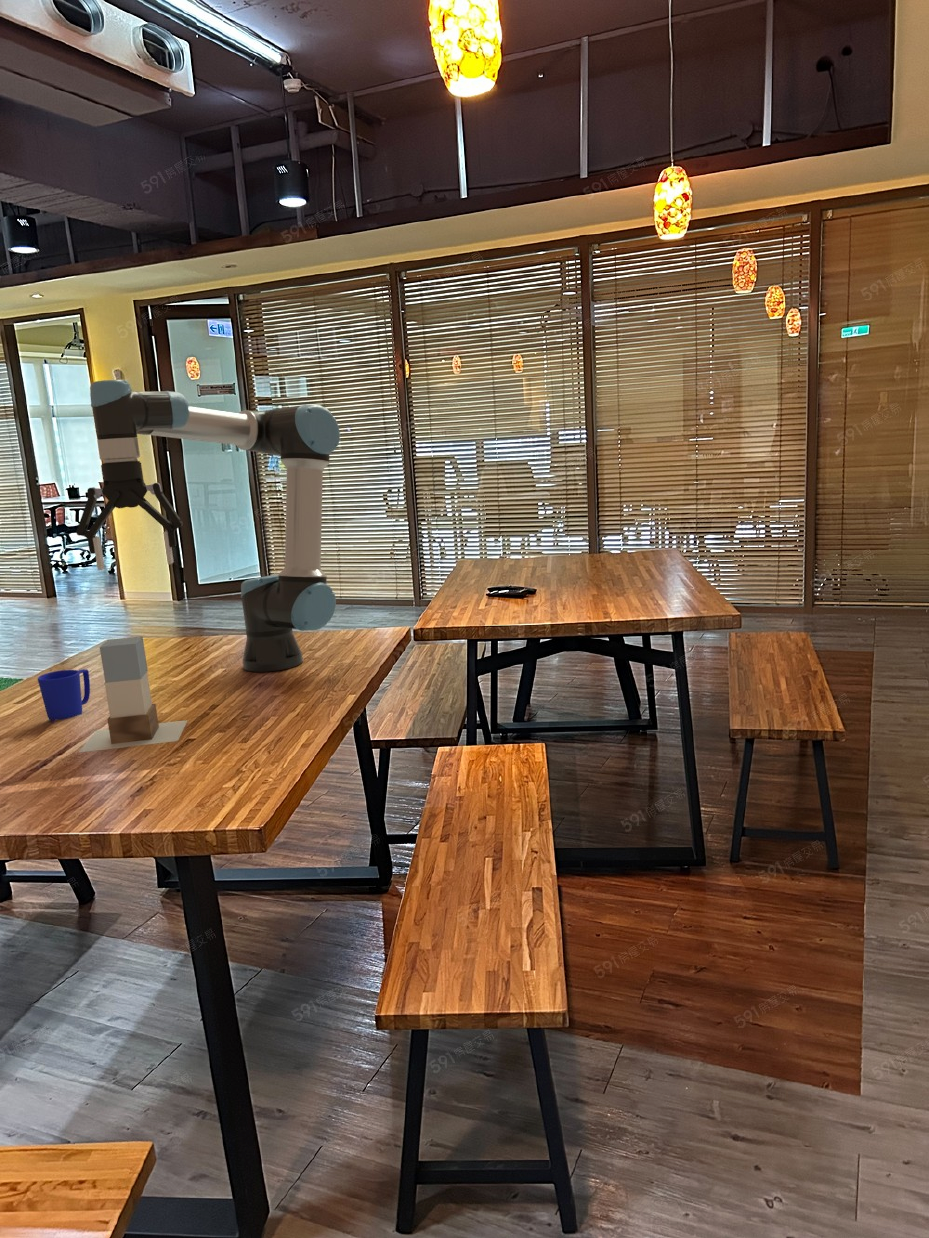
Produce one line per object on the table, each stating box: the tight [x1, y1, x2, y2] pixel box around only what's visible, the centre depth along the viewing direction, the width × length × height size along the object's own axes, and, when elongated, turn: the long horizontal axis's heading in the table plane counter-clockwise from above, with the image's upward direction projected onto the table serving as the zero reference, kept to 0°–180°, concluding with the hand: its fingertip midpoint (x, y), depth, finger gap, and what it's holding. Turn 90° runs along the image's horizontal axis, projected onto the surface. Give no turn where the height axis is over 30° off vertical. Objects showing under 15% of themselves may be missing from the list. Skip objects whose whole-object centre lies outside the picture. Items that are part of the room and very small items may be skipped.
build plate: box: [78, 719, 189, 753], centre depth 168 cm, size 18×13×1 cm
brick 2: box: [104, 671, 153, 718], centre depth 166 cm, size 6×6×7 cm
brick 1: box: [99, 636, 149, 684], centre depth 165 cm, size 6×6×7 cm
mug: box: [37, 669, 91, 723], centre depth 187 cm, size 8×12×10 cm
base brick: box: [107, 703, 159, 744], centre depth 167 cm, size 8×8×5 cm
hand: (136, 566), depth 174 cm, fingers open, 13 cm apart
